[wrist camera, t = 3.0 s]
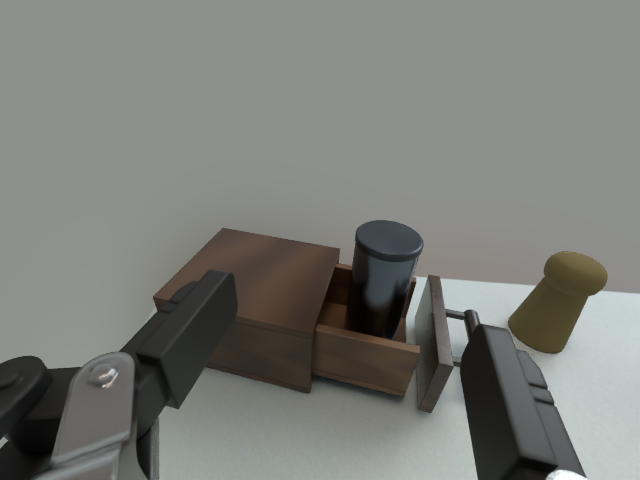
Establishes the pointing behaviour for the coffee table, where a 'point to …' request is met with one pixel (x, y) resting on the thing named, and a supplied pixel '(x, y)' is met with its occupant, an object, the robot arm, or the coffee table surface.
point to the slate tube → (381, 277)
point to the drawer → (389, 344)
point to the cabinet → (265, 303)
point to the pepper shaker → (557, 301)
